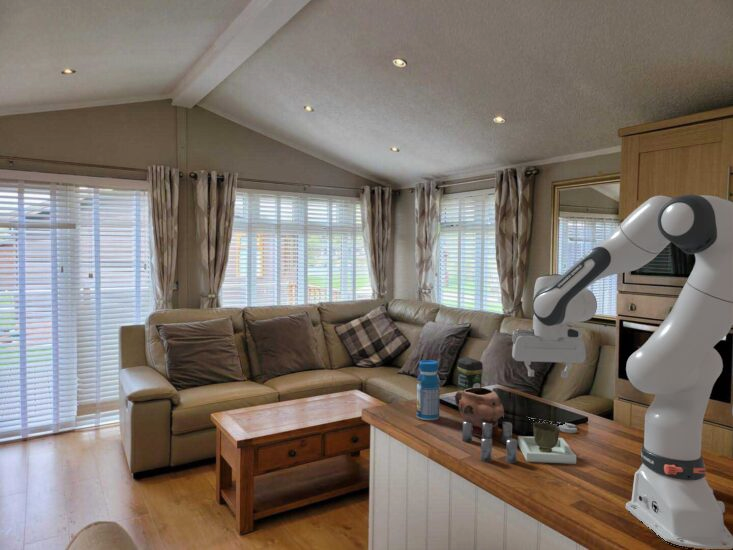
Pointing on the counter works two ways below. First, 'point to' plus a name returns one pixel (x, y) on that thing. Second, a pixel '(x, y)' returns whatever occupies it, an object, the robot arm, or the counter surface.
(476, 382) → the coffee jar
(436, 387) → the beverage bottle
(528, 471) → the counter surface
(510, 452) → the spacer field
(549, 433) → the cup
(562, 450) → the tray
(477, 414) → the decorative planter
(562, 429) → the adjustable wrench
